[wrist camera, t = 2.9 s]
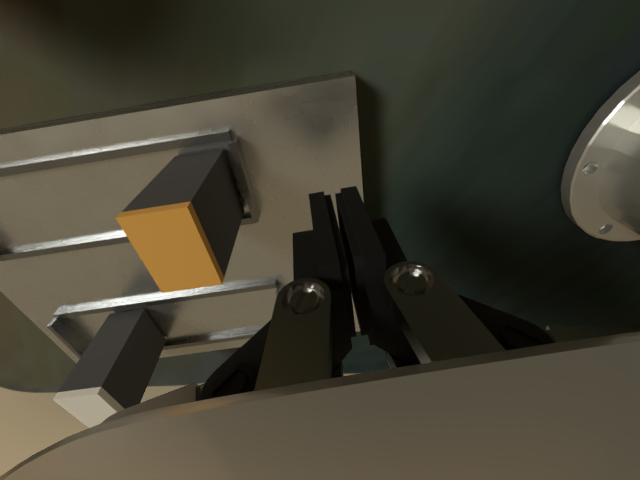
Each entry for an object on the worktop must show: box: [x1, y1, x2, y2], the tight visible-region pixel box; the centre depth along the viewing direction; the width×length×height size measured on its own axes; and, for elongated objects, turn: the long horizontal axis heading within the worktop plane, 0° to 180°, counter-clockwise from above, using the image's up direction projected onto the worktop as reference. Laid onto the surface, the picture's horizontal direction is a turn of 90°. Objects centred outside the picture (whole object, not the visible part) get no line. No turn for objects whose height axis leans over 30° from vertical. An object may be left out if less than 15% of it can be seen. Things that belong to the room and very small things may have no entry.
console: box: [0, 70, 364, 363], centre depth 20 cm, size 24×18×3 cm
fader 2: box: [116, 148, 245, 293], centre depth 14 cm, size 2×4×6 cm
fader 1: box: [53, 309, 166, 428], centre depth 20 cm, size 2×4×6 cm
